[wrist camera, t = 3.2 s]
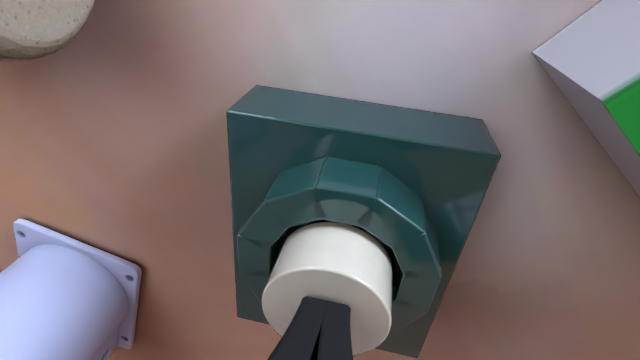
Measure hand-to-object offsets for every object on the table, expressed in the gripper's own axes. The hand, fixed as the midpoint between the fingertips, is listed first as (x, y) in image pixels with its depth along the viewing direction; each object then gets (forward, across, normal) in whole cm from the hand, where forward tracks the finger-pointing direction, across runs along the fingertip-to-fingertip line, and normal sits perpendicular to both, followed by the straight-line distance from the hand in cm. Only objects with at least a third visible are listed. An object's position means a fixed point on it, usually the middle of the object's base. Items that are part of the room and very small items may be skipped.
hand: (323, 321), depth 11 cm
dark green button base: (+7, 0, +1) cm, 7 cm away
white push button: (+2, 0, 0) cm, 2 cm away
